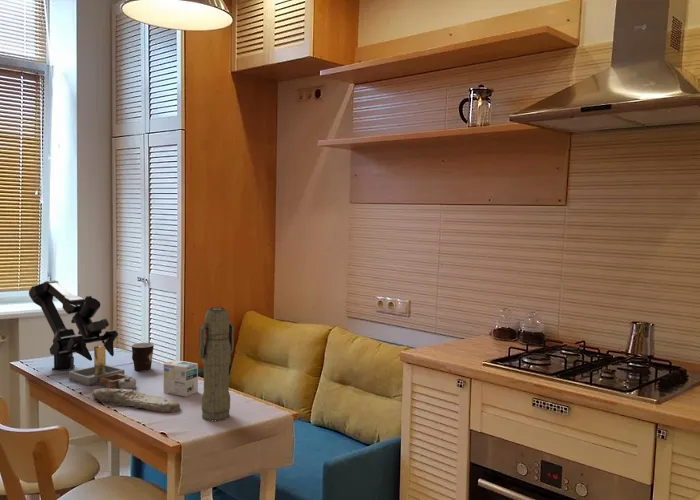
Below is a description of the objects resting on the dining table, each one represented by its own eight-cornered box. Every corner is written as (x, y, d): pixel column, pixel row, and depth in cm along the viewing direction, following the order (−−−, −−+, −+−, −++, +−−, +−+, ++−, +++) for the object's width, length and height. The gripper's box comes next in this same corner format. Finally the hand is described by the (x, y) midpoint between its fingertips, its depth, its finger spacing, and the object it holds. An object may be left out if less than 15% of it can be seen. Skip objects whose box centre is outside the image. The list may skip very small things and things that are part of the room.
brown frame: (98, 384, 231) (98, 375, 230) (118, 379, 237) (118, 371, 237) (122, 391, 222) (122, 383, 222) (142, 386, 229) (142, 378, 229)
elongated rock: (167, 420, 199) (186, 413, 208) (169, 404, 199) (187, 397, 208) (83, 400, 211) (104, 393, 221) (84, 384, 211) (105, 379, 220)
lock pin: (92, 379, 235) (92, 347, 234) (97, 376, 239) (97, 345, 238) (102, 379, 235) (102, 348, 234) (107, 376, 239) (107, 345, 238)
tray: (69, 379, 236) (69, 371, 235) (104, 371, 248) (104, 364, 248) (89, 385, 228) (89, 377, 228) (124, 377, 241) (124, 369, 240)
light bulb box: (198, 392, 225) (198, 362, 224) (186, 397, 218) (186, 367, 218) (175, 387, 229) (175, 359, 228) (162, 392, 223) (162, 363, 222)
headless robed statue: (239, 415, 201) (240, 308, 199) (210, 424, 192) (211, 312, 190) (221, 409, 207) (222, 305, 204) (192, 417, 198) (193, 309, 195)
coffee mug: (145, 365, 259) (145, 341, 258) (158, 369, 254) (158, 344, 253) (120, 370, 250) (120, 346, 249) (133, 374, 245) (133, 349, 244)
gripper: (71, 315, 230) (88, 349, 224) (115, 309, 245) (132, 341, 240) (59, 333, 235) (76, 367, 229) (103, 326, 250) (120, 358, 245)
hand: (102, 357), depth 236 cm, fingers open, 9 cm apart
